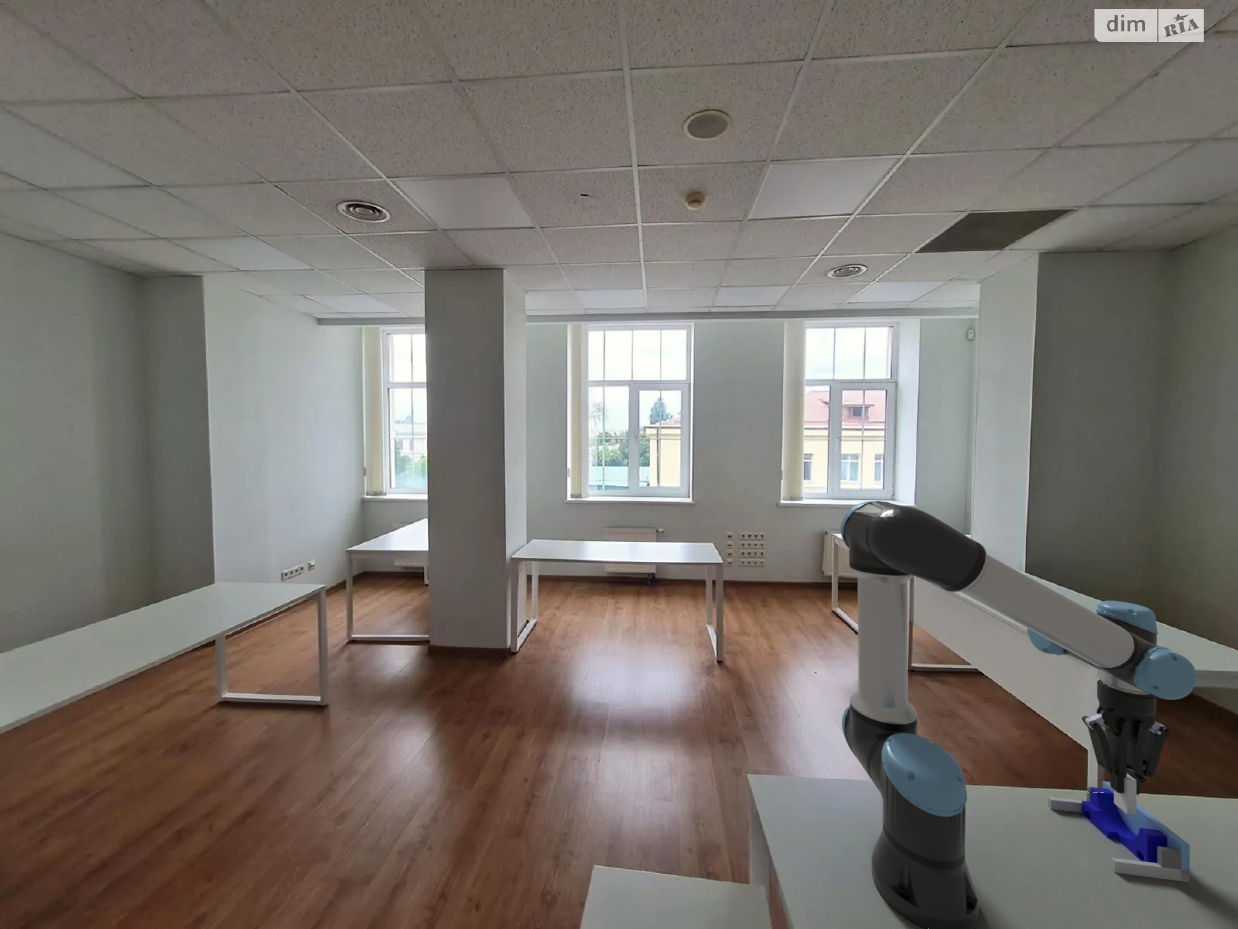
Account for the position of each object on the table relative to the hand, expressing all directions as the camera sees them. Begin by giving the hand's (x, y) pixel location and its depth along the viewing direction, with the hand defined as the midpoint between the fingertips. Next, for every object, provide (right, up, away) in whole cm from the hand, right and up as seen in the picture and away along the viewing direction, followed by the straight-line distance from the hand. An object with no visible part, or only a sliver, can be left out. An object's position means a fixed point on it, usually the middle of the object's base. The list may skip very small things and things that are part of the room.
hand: (1124, 808), depth 87 cm
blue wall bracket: (-2, -6, 0) cm, 7 cm away
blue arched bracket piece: (0, -7, +1) cm, 7 cm away
